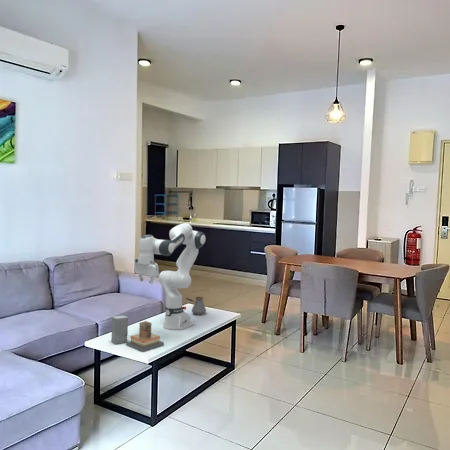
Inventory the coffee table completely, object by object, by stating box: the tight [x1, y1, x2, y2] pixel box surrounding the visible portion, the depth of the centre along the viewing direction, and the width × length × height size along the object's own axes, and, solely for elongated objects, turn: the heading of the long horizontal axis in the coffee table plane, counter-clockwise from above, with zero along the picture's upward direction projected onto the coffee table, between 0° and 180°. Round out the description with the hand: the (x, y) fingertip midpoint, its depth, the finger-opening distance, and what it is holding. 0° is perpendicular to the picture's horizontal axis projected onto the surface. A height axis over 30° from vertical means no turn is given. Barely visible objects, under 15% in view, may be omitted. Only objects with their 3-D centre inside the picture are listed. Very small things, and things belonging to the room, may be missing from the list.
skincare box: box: [110, 315, 129, 345], centre depth 257 cm, size 8×7×16 cm
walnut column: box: [138, 320, 153, 338], centre depth 252 cm, size 5×5×8 cm
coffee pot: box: [183, 296, 207, 316], centre depth 323 cm, size 21×12×15 cm, turn 140°
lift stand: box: [125, 332, 165, 353], centre depth 252 cm, size 16×16×6 cm
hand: (146, 282), depth 263 cm, fingers open, 8 cm apart
